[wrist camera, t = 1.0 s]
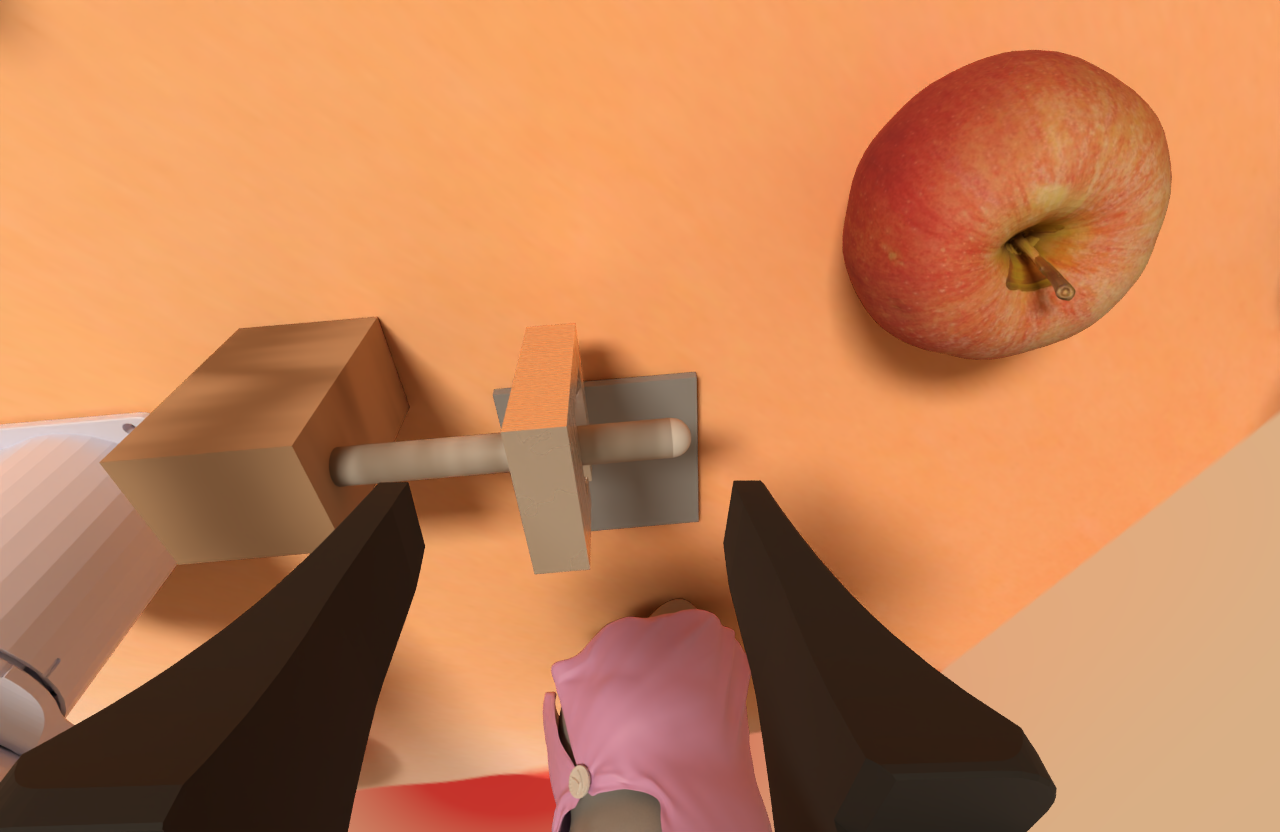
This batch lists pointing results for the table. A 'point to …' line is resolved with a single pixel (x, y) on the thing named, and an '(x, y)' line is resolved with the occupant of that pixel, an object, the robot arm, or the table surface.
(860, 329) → the table surface
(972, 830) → the robot arm
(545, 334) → the link
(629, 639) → the toy character
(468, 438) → the stand
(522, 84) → the table surface
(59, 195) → the table surface
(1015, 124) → the apple
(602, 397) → the mat
